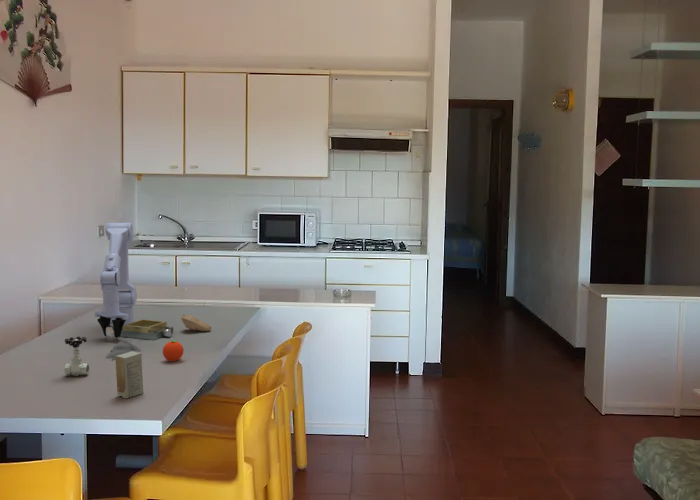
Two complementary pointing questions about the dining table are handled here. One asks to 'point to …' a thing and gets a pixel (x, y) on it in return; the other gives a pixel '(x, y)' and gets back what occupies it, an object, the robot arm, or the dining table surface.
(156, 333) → the metal tray
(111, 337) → the tin can
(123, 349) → the cloth
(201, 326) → the pottery oil lamp
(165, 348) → the clementine
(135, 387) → the skincare box
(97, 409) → the dining table surface
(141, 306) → the dining table surface
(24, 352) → the dining table surface
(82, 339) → the valve
